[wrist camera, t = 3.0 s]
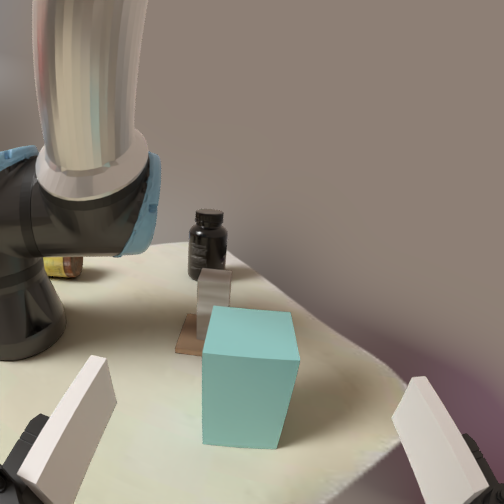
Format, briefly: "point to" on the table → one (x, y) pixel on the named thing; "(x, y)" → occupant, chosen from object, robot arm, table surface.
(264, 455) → the table surface
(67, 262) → the sauce bottle
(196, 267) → the supplement bottle
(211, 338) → the tall teal pillar
